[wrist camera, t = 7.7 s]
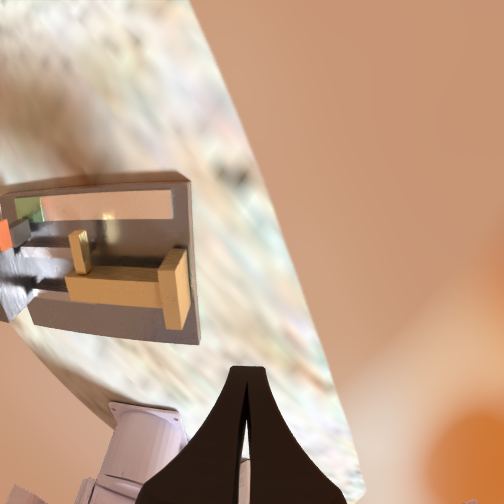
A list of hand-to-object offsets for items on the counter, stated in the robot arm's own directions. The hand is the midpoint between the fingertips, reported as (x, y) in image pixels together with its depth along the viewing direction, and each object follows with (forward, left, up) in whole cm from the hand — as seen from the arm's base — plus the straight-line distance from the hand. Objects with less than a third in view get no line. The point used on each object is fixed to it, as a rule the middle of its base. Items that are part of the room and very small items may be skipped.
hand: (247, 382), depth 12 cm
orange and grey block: (+4, +17, -8) cm, 19 cm away
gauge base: (0, +12, -10) cm, 15 cm away
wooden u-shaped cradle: (+1, +8, -9) cm, 12 cm away
